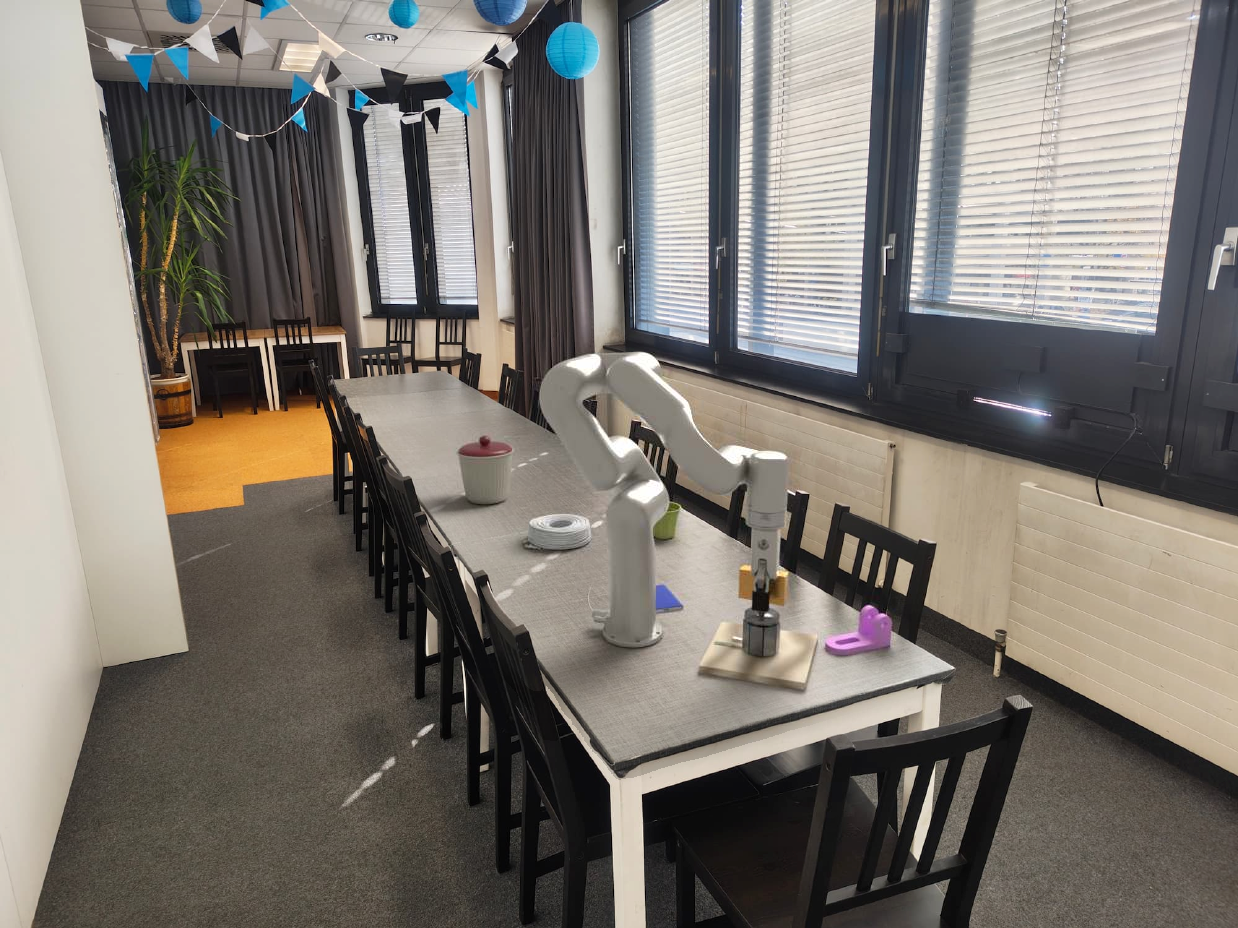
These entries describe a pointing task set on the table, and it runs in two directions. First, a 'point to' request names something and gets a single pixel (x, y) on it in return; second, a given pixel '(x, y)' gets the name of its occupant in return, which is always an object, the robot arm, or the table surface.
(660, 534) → the plant pot
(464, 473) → the canister
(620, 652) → the table surface
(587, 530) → the cable
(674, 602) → the hard drive
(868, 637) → the bracket
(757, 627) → the motor
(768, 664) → the post plate
